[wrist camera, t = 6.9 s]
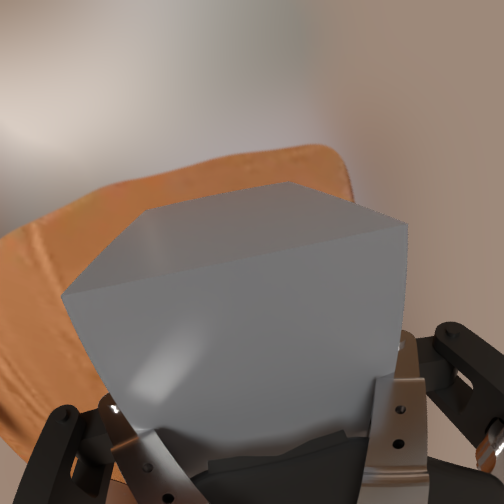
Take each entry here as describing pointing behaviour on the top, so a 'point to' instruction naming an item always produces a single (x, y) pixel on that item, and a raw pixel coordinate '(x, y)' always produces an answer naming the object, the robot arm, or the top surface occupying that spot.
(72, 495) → the robot arm
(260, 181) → the top surface
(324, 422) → the gray tapered block
